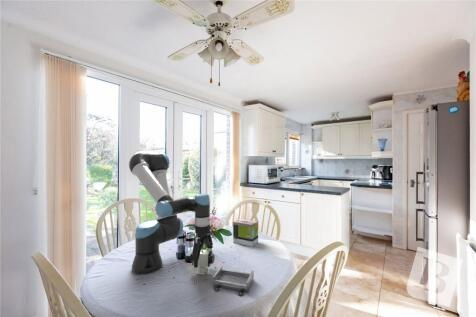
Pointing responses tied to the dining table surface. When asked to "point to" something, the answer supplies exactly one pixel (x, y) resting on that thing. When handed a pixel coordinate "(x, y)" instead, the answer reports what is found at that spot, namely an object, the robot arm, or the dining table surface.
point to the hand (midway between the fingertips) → (203, 266)
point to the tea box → (245, 232)
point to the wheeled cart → (233, 281)
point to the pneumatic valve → (204, 260)
